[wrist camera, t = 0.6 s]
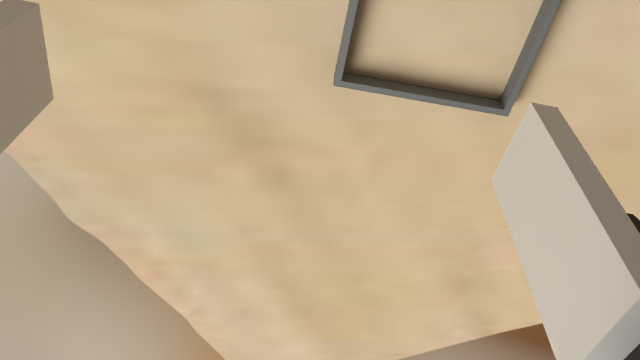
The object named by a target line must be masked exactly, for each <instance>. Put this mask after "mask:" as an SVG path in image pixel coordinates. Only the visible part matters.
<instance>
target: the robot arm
mask: <svg viewBox="0 0 640 360" xmlns="http://www.w3.org/2000/svg"><path fill="white" fill-rule="evenodd" d="M52 100H53V92H52V86H51V79H50V73H49V66H48V60H47V53H46V47H45V40H44V34H43V27H42V21H41V14H40V8H39V4H38V3H33V2H28V1H23V0H3V1H1V2H0V154H1V153H2V152H3V151H4V150H5V149H6V148H7V147H8V145H9V144H10V143H11V142H12V141H13V140H14V139H15V138H16V137H17V136H18V135H19V134H20V133H21V132H22V131H23V130H24V129H25V128H26V127H27V126H28V125H29V124H30V123H31V121H32V120H33V119H34V118H35V117H36V116H37V115H38V114H39V113H40V112H41V111H42V110H43V109H44V108H45V107H46V106H47V105H48V104H49V103H50V102H51V101H52ZM491 181H492V184H493V187H494V190H495V192H496V195H497V198H498V201H499V203H500V206H501V209H502V212H503V214H504V217H505V220H506V223H507V225H508V228H509V231H510V234H511V236H512V239H513V242H514V245H515V248H516V250H517V253H518V256H519V259H520V261H521V264H522V267H523V270H524V272H525V275H526V278H527V281H528V283H529V286H530V289H531V292H532V294H533V297H534V300H535V303H536V306H537V308H538V311H539V314H540V317H541V319H542V322H543V325H544V328H545V330H546V333H547V336H548V339H549V341H550V344H551V347H552V350H553V352H554V355H555V358H556V360H640V220H639V219H638V218H636V217H635V216H634V215H633V214H628V213H626V212H625V210H624V209H623V207H622V206H621V204H620V203H619V201H618V200H617V198H616V197H615V195H614V193H613V192H612V190H611V189H610V187H609V186H608V184H607V183H606V181H605V180H604V178H603V177H602V175H601V174H600V172H599V171H598V169H597V167H596V166H595V164H594V163H593V161H592V160H591V158H590V157H589V155H588V154H587V152H586V151H585V149H584V148H583V146H582V145H581V143H580V141H579V140H578V138H577V137H576V135H575V134H574V132H573V131H572V129H571V128H570V126H569V125H568V123H567V122H566V120H565V118H564V117H563V115H562V114H561V112H560V111H559V109H558V108H557V107H552V106H547V105H542V104H537V103H532V102H531V103H530V105H529V107H528V109H527V111H526V113H525V115H524V117H523V119H522V121H521V123H520V125H519V127H518V129H517V131H516V133H515V134H514V136H513V138H512V140H511V142H510V144H509V146H508V148H507V150H506V152H505V154H504V156H503V158H502V160H501V162H500V164H499V166H498V167H497V169H496V171H495V173H494V175H493V177H492V179H491Z"/></svg>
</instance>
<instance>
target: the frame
mask: <svg viewBox="0 0 640 360" xmlns="http://www.w3.org/2000/svg"><path fill="white" fill-rule="evenodd" d="M358 1H359V0H350V1H349V6H348V11H347V16H346V21H345V26H344V31H343V36H342V41H341V45H340V50H339V55H338V60H337V65H336V70H335V75H334V86H338V87H344V88H350V89H355V90H361V91H367V92H372V93H378V94H384V95H389V96H395V97H401V98H406V99H412V100H418V101H423V102H429V103H435V104H440V105H446V106H451V107H457V108H463V109H468V110H474V111H480V112H485V113H491V114H497V115H502V116H508V115H509V113H510V111H511V109H512V106H513V104H514V102H515V100H516V98H517V96H518V93H519V91H520V89H521V87H522V85H523V82H524V80H525V78H526V76H527V74H528V72H529V69H530V67H531V65H532V63H533V61H534V59H535V56H536V54H537V52H538V50H539V48H540V46H541V43H542V41H543V39H544V37H545V35H546V32H547V30H548V28H549V26H550V24H551V22H552V19H553V17H554V15H555V13H556V11H557V9H558V6H559V4H560V2H561V0H544V1H543V3H542V5H541V8H540V10H539V12H538V15H537V17H536V19H535V21H534V24H533V26H532V28H531V30H530V33H529V35H528V37H527V40H526V42H525V44H524V46H523V49H522V51H521V53H520V56H519V58H518V60H517V62H516V65H515V67H514V69H513V72H512V74H511V76H510V78H509V81H508V83H507V85H506V87H505V90H504V92H503V94H502V97H501V99H500V101H498V100H493V99H487V98H482V97H476V96H470V95H465V94H459V93H454V92H448V91H442V90H437V89H431V88H426V87H420V86H415V85H409V84H403V83H398V82H392V81H387V80H381V79H375V78H370V77H364V76H359V75H353V74H347V73H343V70H344V66H345V61H346V56H347V52H348V47H349V42H350V38H351V33H352V28H353V24H354V19H355V14H356V10H357V5H358Z"/></svg>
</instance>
